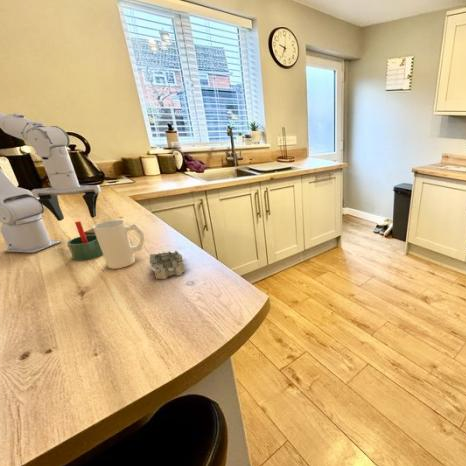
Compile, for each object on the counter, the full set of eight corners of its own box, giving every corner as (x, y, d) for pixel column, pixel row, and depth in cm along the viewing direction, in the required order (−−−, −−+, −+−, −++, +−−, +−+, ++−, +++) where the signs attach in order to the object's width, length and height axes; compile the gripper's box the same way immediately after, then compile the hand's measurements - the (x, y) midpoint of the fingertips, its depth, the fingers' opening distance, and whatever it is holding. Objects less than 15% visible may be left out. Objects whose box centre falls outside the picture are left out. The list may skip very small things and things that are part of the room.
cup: (66, 259, 83) (60, 244, 81) (89, 248, 90) (84, 234, 88) (90, 261, 83) (84, 245, 81) (111, 250, 89) (106, 235, 88)
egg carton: (186, 274, 77) (183, 260, 75) (153, 282, 73) (149, 268, 71) (182, 258, 85) (179, 245, 83) (151, 265, 81) (148, 252, 79)
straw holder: (86, 240, 96) (83, 232, 95) (104, 232, 102) (102, 224, 101) (106, 241, 95) (103, 233, 94) (123, 233, 102) (120, 225, 101)
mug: (107, 271, 77) (92, 230, 73) (106, 262, 82) (92, 223, 77) (151, 261, 83) (140, 222, 79) (148, 253, 88) (137, 215, 83)
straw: (85, 253, 86) (73, 222, 82) (89, 252, 87) (78, 221, 83) (88, 254, 85) (77, 222, 82) (92, 252, 87) (81, 221, 83)
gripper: (97, 168, 87) (111, 211, 92) (33, 171, 81) (51, 216, 86) (90, 172, 81) (105, 218, 86) (20, 176, 75) (40, 224, 80)
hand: (77, 218), depth 86 cm, fingers open, 7 cm apart
